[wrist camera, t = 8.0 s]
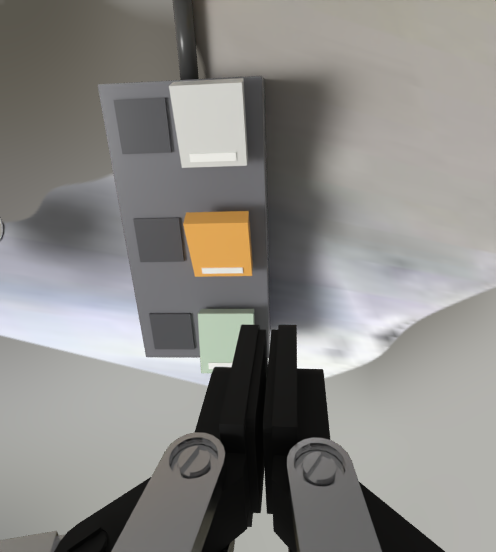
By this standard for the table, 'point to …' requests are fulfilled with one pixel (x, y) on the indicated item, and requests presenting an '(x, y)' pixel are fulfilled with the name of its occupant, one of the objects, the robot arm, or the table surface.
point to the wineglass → (1, 228)
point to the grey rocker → (210, 122)
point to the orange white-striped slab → (219, 243)
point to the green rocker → (220, 335)
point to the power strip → (182, 204)
